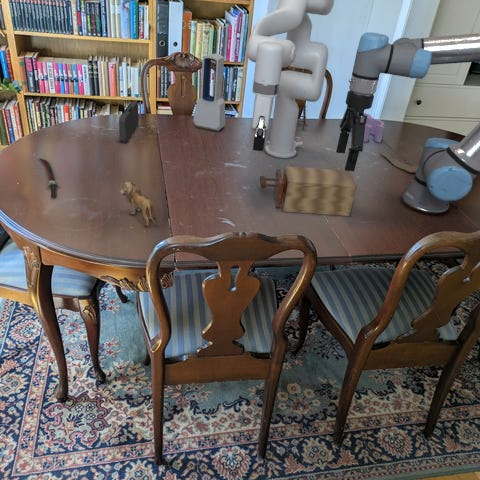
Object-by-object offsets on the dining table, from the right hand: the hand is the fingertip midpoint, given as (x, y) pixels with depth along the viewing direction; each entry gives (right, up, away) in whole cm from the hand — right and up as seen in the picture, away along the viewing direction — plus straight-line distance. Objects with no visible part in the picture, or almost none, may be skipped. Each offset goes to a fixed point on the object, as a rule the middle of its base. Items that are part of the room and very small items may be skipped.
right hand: (344, 161), depth 144 cm
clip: (+25, +24, +72) cm, 80 cm away
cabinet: (-8, -13, +8) cm, 17 cm away
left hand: (-27, +5, 0) cm, 27 cm away
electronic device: (-46, +25, +60) cm, 80 cm away
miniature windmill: (-6, +28, +73) cm, 78 cm away
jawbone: (+34, +7, +46) cm, 57 cm away
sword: (-95, -4, +7) cm, 95 cm away
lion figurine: (-62, -18, -8) cm, 65 cm away
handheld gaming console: (-78, +19, +46) cm, 92 cm away
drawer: (-14, -12, +7) cm, 20 cm away
